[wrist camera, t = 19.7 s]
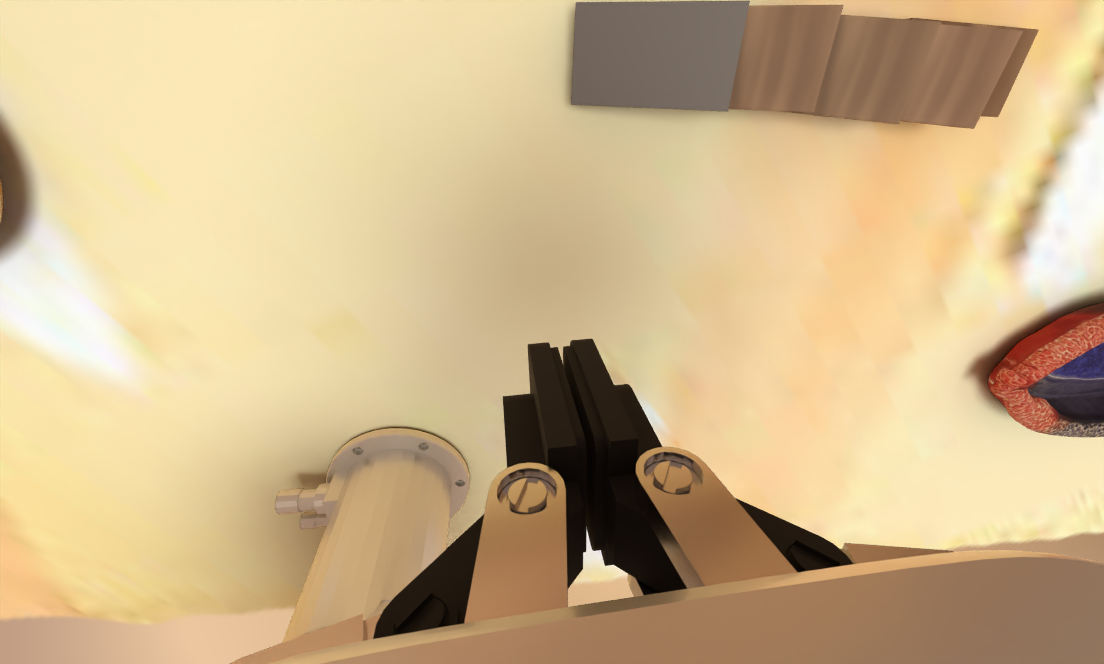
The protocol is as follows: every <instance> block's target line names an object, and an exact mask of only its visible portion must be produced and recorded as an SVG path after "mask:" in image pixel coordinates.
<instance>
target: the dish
mask: <svg viewBox="0 0 1104 664" xmlns="http://www.w3.org/2000/svg"><path fill="white" fill-rule="evenodd" d="M988 384H989V389H990V390H991V392H992V394H993V395H994V396H996V397H997V398H998V399H999V400H1000V401H1001V403H1002V404H1003V405H1004V407H1005V408H1006V409H1007V411H1008V413H1009V415H1010V416H1011V417H1012V418H1013V419H1014V420H1015V421H1017V422H1019V423H1020V424H1022V425H1023V426H1025V427H1027V428H1028V429H1031V430H1033V431H1036V432H1039V433H1044V434H1049V435H1057V436H1068V437H1104V302H1103V303H1098V304H1095V305H1092V306H1089V307H1085V308H1082V309H1079V310H1077V311H1074V312H1072V313H1070V314H1067V315H1065V316H1063V317H1061V318H1059V319H1057V320H1056V321H1054V322H1052V323H1050V324H1049V325H1047V326H1045V327H1044V328H1042V329H1041V330H1039V331H1038V332H1036V333H1034V334H1032V335H1030V336H1028V337H1026V338H1025V339H1023V340H1022V341H1020V342H1019V343H1018V344H1017V345H1016V346H1015V347H1014V348H1013V349H1012V350H1011V351H1010V352H1009V353H1008V354H1007V355H1006V356H1005V357H1004V359H1003V360H1002V361H1001V362H1000V363H999V364H998V365H997V366H996V367H995V368H994V370H993V371H992V373H991V374H990V376H989V380H988Z"/></svg>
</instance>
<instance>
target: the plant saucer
mask: <svg viewBox="0 0 1104 664" xmlns="http://www.w3.org/2000/svg"><path fill="white" fill-rule="evenodd" d="M2 211H3V193H2V185H1V180H0V223H1V219H2Z"/></svg>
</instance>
